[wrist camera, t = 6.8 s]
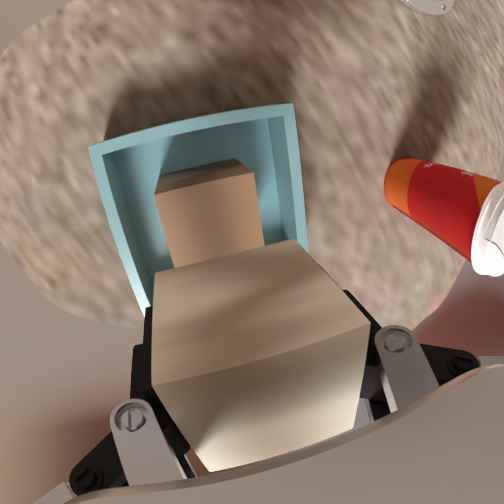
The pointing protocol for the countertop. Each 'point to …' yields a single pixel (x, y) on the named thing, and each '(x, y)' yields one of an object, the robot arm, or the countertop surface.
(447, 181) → the paper cup
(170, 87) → the countertop surface
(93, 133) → the countertop surface
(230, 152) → the tote
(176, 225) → the walnut block
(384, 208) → the countertop surface
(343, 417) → the birch block
